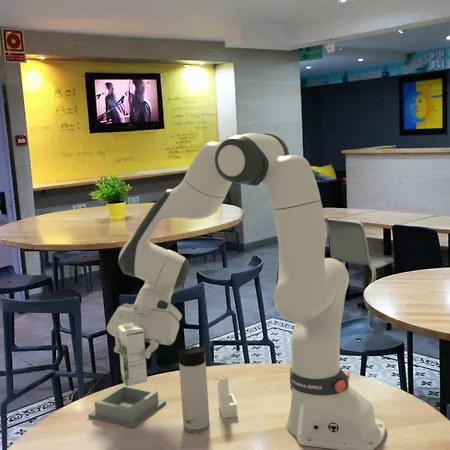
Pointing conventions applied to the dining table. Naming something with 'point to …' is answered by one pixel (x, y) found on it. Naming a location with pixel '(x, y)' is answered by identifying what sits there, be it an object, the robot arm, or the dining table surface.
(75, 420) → the dining table surface
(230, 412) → the white angled block
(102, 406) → the holder
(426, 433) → the dining table surface
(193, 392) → the travel mug
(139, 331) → the syrup box
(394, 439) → the dining table surface
